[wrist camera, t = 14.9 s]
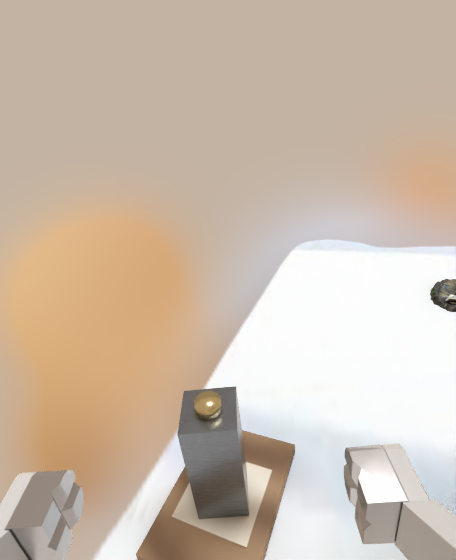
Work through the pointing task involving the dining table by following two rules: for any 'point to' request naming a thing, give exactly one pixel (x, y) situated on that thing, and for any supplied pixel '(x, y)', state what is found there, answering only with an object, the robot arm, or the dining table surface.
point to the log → (445, 294)
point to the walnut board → (229, 530)
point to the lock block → (214, 452)
